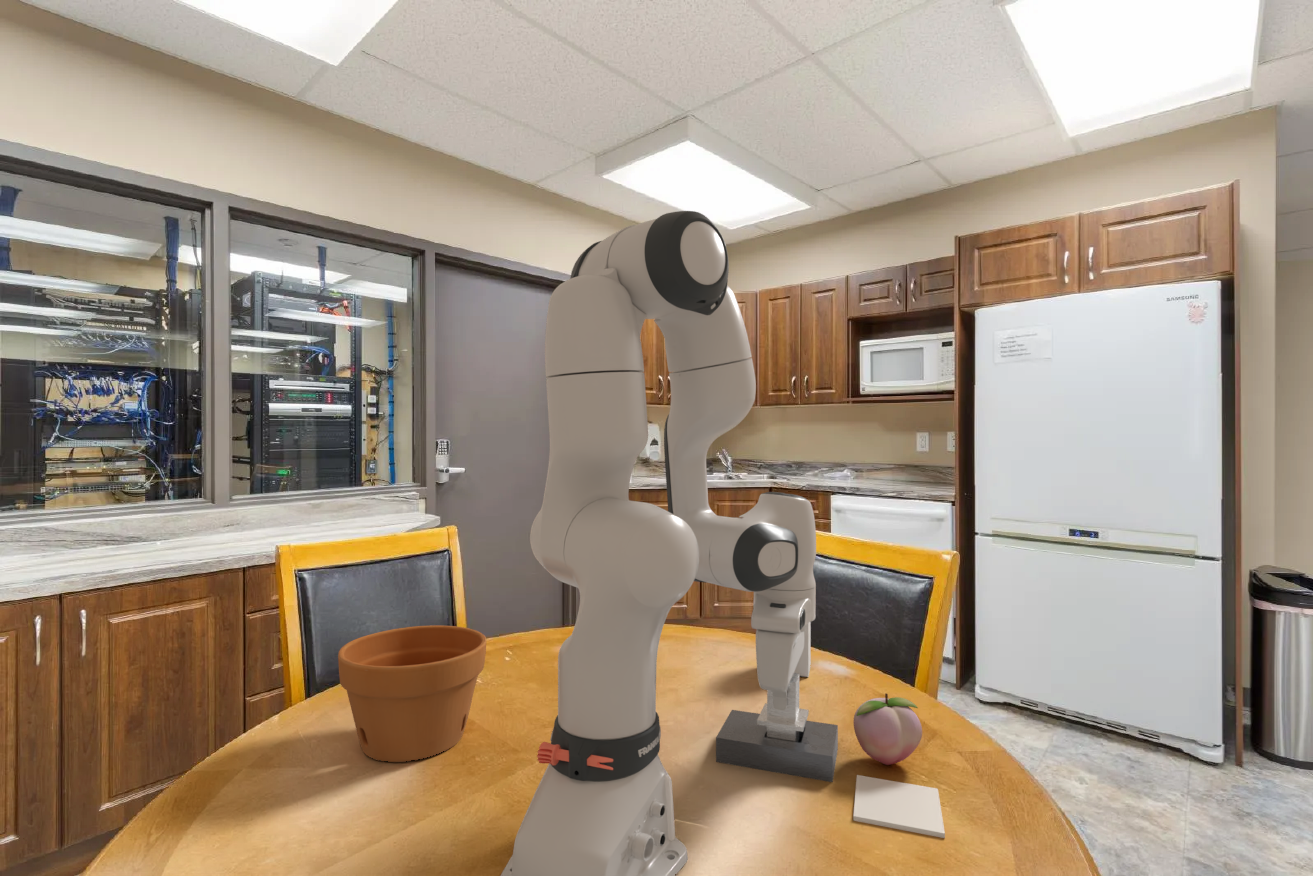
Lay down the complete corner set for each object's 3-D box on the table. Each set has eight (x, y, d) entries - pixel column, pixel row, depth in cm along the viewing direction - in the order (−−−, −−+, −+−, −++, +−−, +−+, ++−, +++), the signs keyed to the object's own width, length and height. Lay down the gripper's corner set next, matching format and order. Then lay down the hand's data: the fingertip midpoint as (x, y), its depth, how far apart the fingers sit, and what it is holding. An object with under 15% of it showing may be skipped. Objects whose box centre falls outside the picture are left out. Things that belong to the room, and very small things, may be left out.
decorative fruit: (891, 745, 95) (890, 678, 95) (933, 771, 87) (932, 698, 87) (839, 756, 91) (839, 687, 91) (878, 784, 84) (877, 709, 84)
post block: (832, 782, 84) (832, 756, 84) (715, 762, 90) (716, 737, 90) (837, 748, 94) (837, 725, 94) (732, 732, 99) (731, 709, 99)
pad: (944, 838, 72) (944, 833, 72) (853, 821, 76) (853, 816, 76) (937, 793, 82) (937, 788, 82) (856, 779, 85) (856, 775, 85)
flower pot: (425, 701, 111) (426, 617, 111) (514, 729, 100) (515, 635, 100) (306, 751, 93) (307, 650, 93) (399, 792, 82) (400, 677, 82)
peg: (802, 756, 87) (803, 687, 87) (756, 748, 89) (757, 681, 89) (808, 737, 93) (808, 672, 93) (764, 730, 95) (765, 666, 95)
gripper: (774, 588, 102) (773, 674, 102) (748, 619, 83) (747, 725, 83) (814, 591, 100) (813, 679, 100) (797, 624, 81) (796, 733, 80)
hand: (783, 700), depth 91 cm, fingers closed on peg, 4 cm apart
